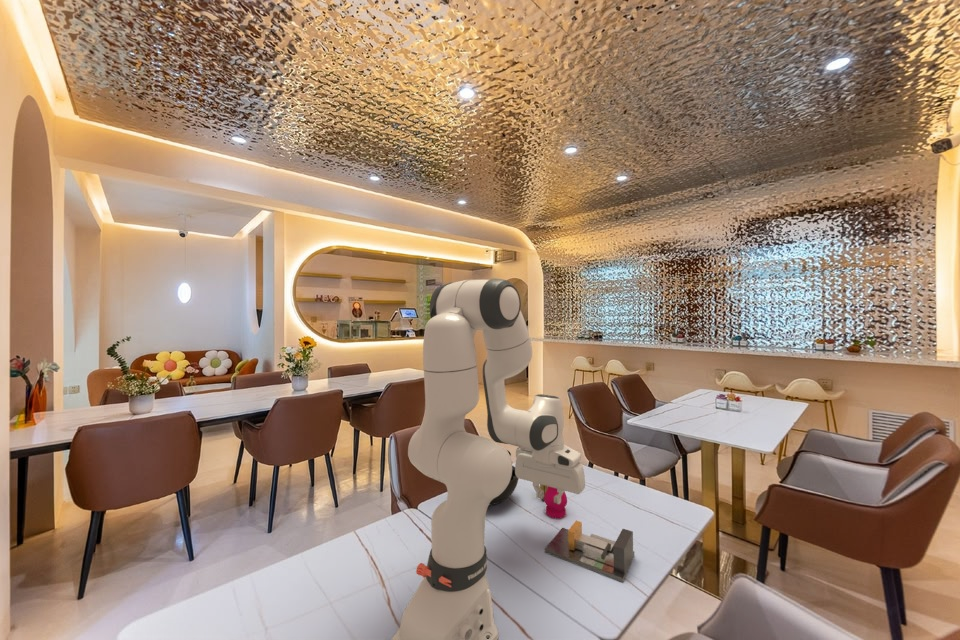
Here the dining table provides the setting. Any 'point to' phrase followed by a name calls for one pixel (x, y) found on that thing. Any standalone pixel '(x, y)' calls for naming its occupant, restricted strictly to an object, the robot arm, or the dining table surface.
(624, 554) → the bench
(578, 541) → the plunger
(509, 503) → the dining table surface
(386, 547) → the dining table surface
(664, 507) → the dining table surface
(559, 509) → the pepper mill
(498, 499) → the coal bowl
